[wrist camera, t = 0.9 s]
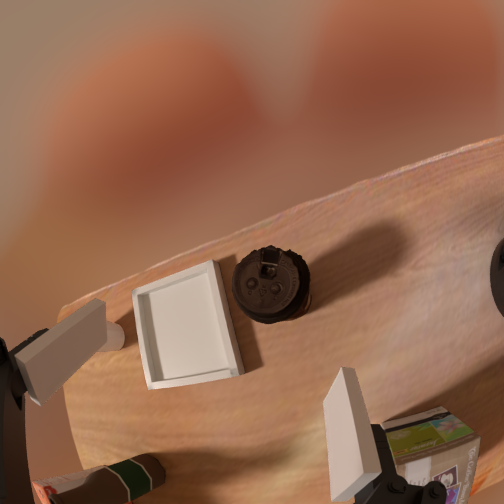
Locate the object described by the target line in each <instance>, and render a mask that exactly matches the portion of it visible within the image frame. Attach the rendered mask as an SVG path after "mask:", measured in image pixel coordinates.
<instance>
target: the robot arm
mask: <svg viewBox="0 0 504 504" xmlns="http://www.w3.org/2000/svg"><path fill="white" fill-rule="evenodd" d="M490 282H491V289H492V294H493V297H494V301H495V303H496V305H497V308H498V309H499V311H500V313H501V314H502V316H503V317H504V239H502V240H501V241H500V243H499V244H498V245H497V247H496V249H495V251H494V254H493V257H492V261H491V268H490ZM106 342H107V326H106V302H104V301H101V300H99V299H96V298H95V299H93V300H92V301H90V302H89V303H87V304H86V305H84V306H83V307H81V308H80V309H78V310H77V311H75V312H74V313H73V314H71V315H70V316H68V317H67V318H65V319H64V320H62V321H61V322H60V323H58V324H57V325H55V326H54V327H52V328H51V329H50V330H49V329H47V328H46V329H43V330H40V331H37V332H36V333H35V334H33V335H32V337H29V338H28V339H27V340H25V341H23V342H22V343H21V344H19V345H18V346H16V347H15V348H14V349H12V350H11V351H10V352H8V350H7V347H6V344H5V341H4V340H3V339H2V338H1V337H0V504H35V502H34V498H33V493H32V488H31V482H30V475H29V468H28V460H27V450H26V435H25V396H24V393H25V392H26V391H28V393H29V396H30V398H31V399H32V400H33V401H35V402H36V403H37V404H38V405H40V406H42V405H43V404H44V403H45V402H46V401H47V400H48V399H49V398H50V397H51V396H52V395H53V394H54V393H55V392H56V391H57V390H58V389H59V388H60V387H61V386H62V385H63V384H64V383H65V382H66V381H67V380H68V379H69V378H70V377H71V376H72V375H73V374H74V373H75V372H76V371H77V370H78V369H79V368H80V367H81V366H82V365H83V364H84V363H85V362H86V361H87V360H88V359H89V358H91V357H92V356H93V355H94V354H95V353H96V352H97V351H98V350H99V349H100V348H101V347H102V346H103V345H104V344H105V343H106ZM323 407H324V416H325V426H326V436H327V447H328V459H329V473H330V488H331V501H348V500H350V499H351V498H352V497H353V496H354V497H355V503H353V504H446V497H447V489H446V487H445V485H444V484H443V483H442V482H439V481H430V482H428V483H427V484H426V485H425V486H418V485H412V484H408V482H407V481H406V479H405V478H403V477H402V476H400V475H398V474H397V472H396V468H395V464H394V460H393V456H392V453H391V449H390V446H389V442H388V439H387V435H386V432H385V431H384V430H383V428H382V427H381V426H380V424H370V421H369V417H368V413H367V410H366V406H365V403H364V399H363V396H362V392H361V389H360V385H359V382H358V379H357V375H356V372H355V369H353V368H346V367H341V369H340V371H339V373H338V375H337V377H336V379H335V381H334V383H333V384H332V386H331V388H330V390H329V392H328V394H327V396H326V398H325V399H324V401H323Z"/></svg>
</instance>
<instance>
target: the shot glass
mask: <svg viewBox="0 0 504 504" xmlns="http://www.w3.org/2000/svg"><path fill="white" fill-rule="evenodd" d="M106 326H107V342H106V343H105V344H104V345H103V346H102V347H101V348H100V349H99V350H98V351H97V352H108V351H119V350H120V349H121V348H122V347H123V345H124V340H125V335H124V331H123V328H122V327H121V326H120V325H119V324H116V323H113V322H110V321H106Z"/></svg>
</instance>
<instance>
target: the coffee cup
mask: <svg viewBox="0 0 504 504" xmlns="http://www.w3.org/2000/svg"><path fill="white" fill-rule="evenodd" d="M232 292H233V295H234V299H235V301H236V303H237V305H238V306H239V308H240V309H241V310H242V311H243V312H244V313H245V314H246V315H247V316H248V317H249V318H251V319H253V320H255V321H256V322H260V323H264V324H273V323H276V322H280V321H288V320H294V319H297V318H299V317H301V316H302V315H304V314H305V313H306V312H307V311H308V309H309V307H310V304H311V294H310V272H309V269H308V266H307V264H306V262H305V261H304V260H303V259H302V256H301V255H298V254H297V253H295V252H293V251H291V250H290V249H289V250H288V251H283V250H282V249H280V248H275V247H274V246H272V245H270V246H268V247H266V248H261V249H259V250H258V251H257V250H253V251H252V252H251V253H250V254H249V255H247V256H246V257H245V258H243V259H242V260H241V262H240V263H238V264H237V265H236V267H235V271H234V274H233V278H232Z"/></svg>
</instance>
